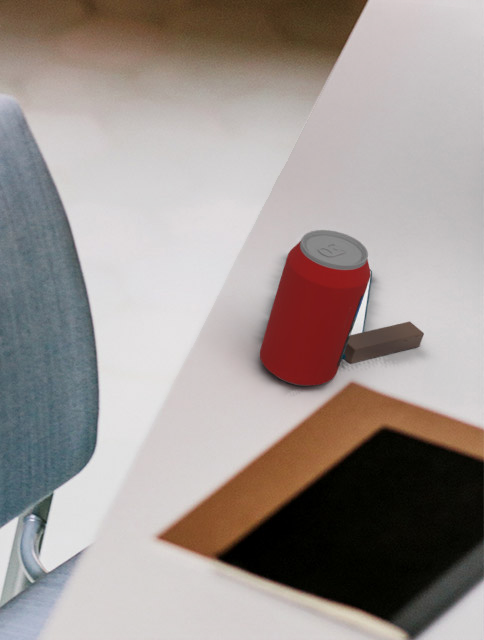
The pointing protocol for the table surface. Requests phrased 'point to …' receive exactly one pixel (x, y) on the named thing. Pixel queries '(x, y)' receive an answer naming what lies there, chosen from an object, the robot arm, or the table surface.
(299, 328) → the beverage can
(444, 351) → the table surface
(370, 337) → the walnut stick
